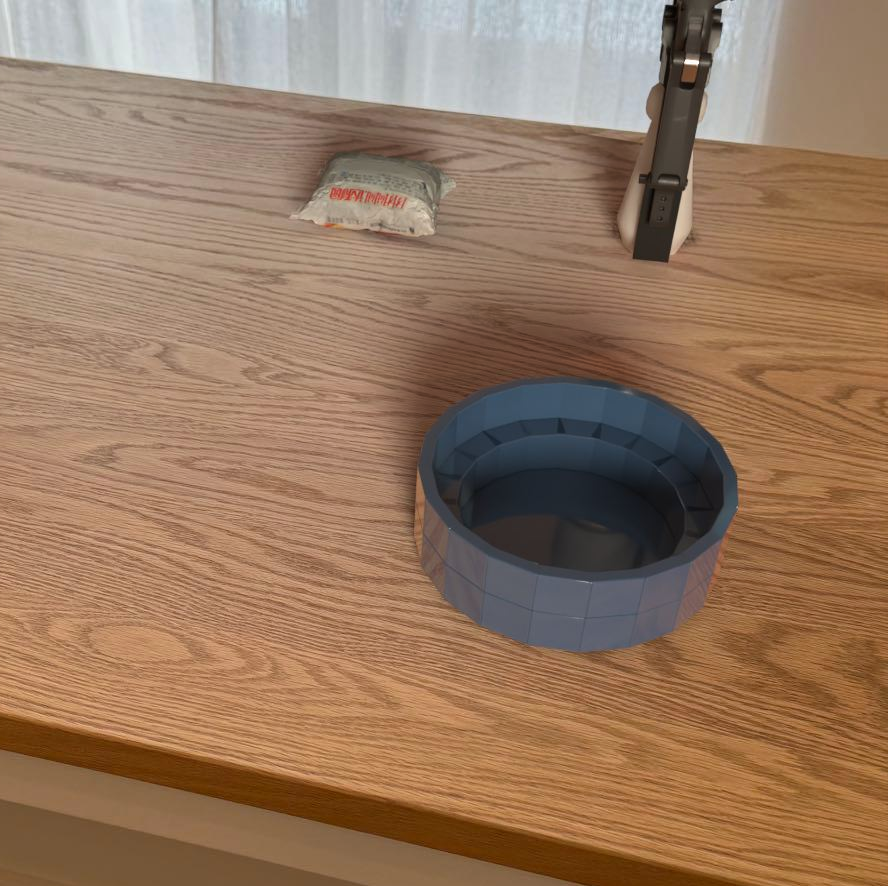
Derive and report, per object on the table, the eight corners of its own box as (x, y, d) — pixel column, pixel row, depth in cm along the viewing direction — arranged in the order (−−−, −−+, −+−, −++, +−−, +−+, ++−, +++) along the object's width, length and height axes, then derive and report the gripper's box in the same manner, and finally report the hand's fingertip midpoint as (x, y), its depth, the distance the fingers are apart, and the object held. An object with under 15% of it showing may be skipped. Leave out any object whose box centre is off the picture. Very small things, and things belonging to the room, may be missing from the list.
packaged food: (434, 259, 97) (437, 201, 94) (288, 239, 99) (287, 181, 96) (456, 207, 103) (459, 151, 100) (318, 189, 105) (318, 134, 102)
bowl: (714, 471, 78) (734, 395, 74) (717, 682, 66) (742, 604, 62) (438, 436, 81) (443, 360, 77) (391, 632, 68) (394, 554, 64)
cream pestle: (680, 271, 96) (714, 109, 87) (606, 258, 97) (632, 97, 88) (691, 235, 100) (725, 76, 91) (621, 222, 101) (647, 65, 92)
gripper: (656, -122, 89) (609, 177, 105) (649, -31, 76) (596, 295, 92) (763, -115, 88) (699, 186, 104) (775, -22, 75) (700, 306, 91)
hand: (651, 236), depth 98 cm, fingers closed on cream pestle, 6 cm apart
